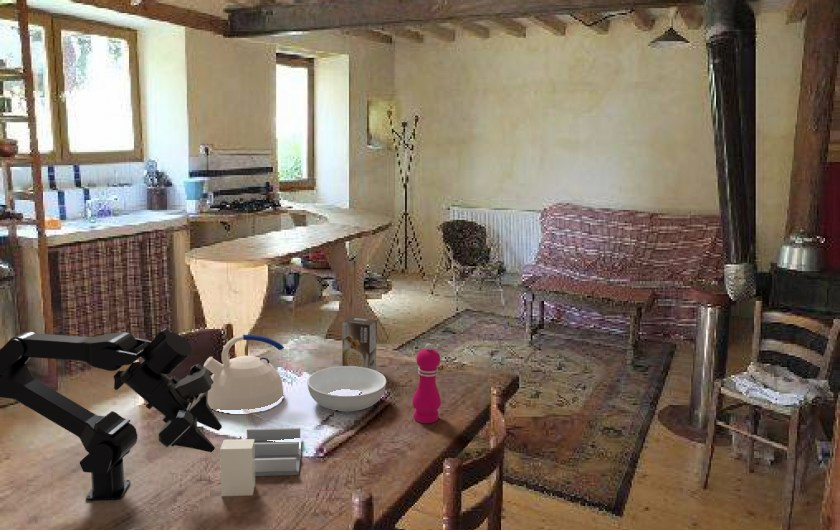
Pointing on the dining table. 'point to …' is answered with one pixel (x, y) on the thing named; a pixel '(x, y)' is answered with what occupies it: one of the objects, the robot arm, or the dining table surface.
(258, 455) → the plate rack
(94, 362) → the robot arm
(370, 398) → the serving bowl
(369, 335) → the coffee box
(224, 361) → the kettle
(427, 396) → the pepper mill
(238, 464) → the cream upright block
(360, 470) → the dining table surface
